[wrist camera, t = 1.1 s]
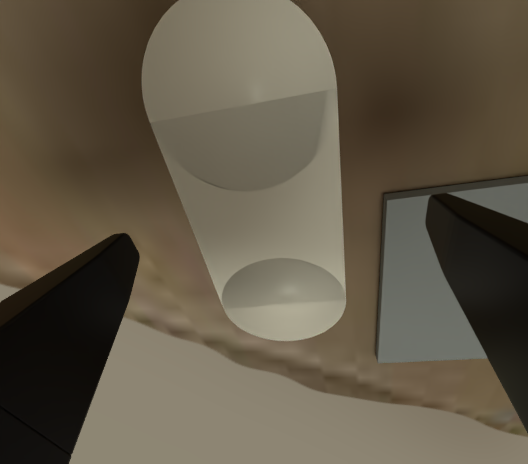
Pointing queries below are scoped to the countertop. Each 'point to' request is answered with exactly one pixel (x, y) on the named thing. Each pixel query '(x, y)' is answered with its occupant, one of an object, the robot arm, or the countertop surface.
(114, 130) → the countertop surface
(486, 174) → the countertop surface
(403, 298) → the mat
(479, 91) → the countertop surface
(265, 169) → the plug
